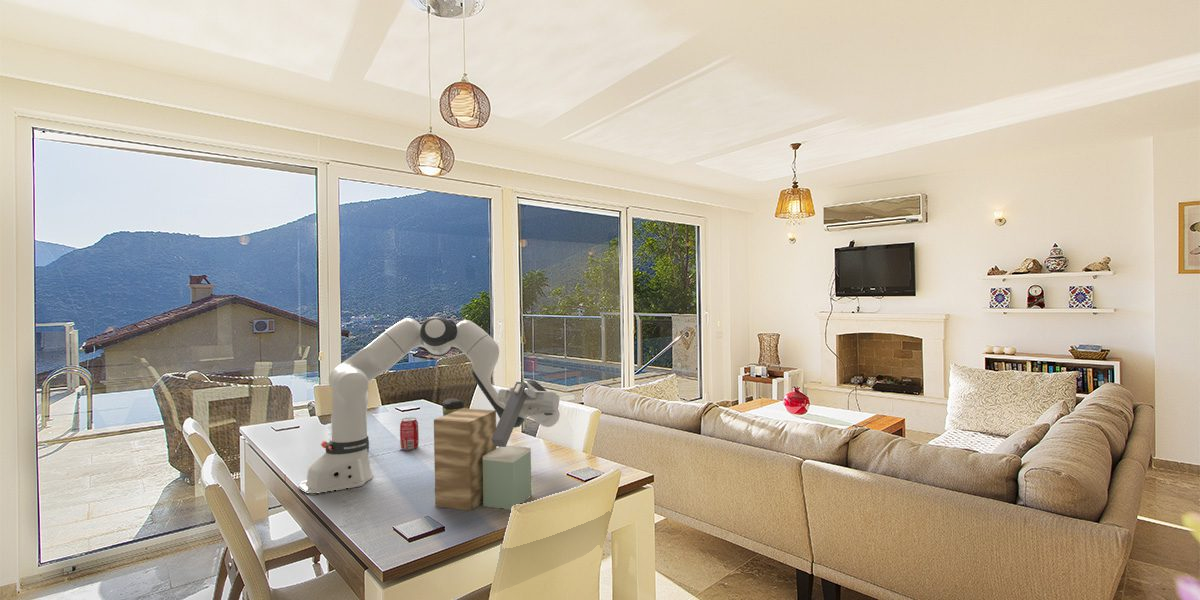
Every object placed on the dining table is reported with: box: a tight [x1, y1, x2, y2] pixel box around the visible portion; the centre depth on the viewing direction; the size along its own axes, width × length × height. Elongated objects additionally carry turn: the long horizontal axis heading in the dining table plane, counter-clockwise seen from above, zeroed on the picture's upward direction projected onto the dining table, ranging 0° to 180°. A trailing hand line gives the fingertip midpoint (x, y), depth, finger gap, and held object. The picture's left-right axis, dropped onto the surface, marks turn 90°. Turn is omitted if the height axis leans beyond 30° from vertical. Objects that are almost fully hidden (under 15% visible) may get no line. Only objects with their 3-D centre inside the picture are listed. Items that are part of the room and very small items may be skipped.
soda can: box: [399, 417, 420, 451], centre depth 227 cm, size 7×7×12 cm
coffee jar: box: [442, 397, 465, 416], centre depth 234 cm, size 10×8×19 cm
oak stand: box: [433, 407, 498, 511], centre depth 172 cm, size 16×12×26 cm
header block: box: [482, 445, 532, 511], centre depth 170 cm, size 12×10×15 cm
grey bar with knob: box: [491, 381, 529, 448], centre depth 172 cm, size 22×4×4 cm
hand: (518, 390), depth 177 cm, fingers closed on grey bar with knob, 3 cm apart
